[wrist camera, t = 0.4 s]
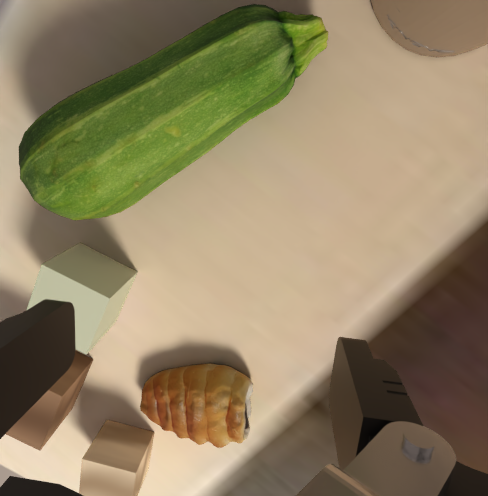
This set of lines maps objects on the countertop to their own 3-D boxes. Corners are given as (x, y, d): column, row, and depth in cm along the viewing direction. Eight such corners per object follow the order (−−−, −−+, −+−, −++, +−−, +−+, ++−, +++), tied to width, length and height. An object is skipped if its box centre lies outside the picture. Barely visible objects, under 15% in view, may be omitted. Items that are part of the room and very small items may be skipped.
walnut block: (30, 327, 34) (-12, 360, 29) (94, 358, 34) (62, 396, 29) (13, 378, 36) (-30, 417, 31) (73, 407, 36) (40, 450, 31)
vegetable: (-30, 173, 21) (320, -47, 16) (14, 117, 26) (287, -60, 22) (72, 258, 25) (367, 105, 21) (91, 196, 31) (329, 64, 26)
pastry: (150, 419, 36) (133, 453, 32) (143, 354, 33) (125, 382, 30) (254, 427, 34) (249, 463, 31) (253, 360, 32) (248, 390, 29)
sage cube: (80, 242, 31) (41, 264, 26) (138, 271, 31) (109, 298, 26) (61, 293, 32) (22, 322, 28) (116, 320, 33) (86, 354, 28)
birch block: (107, 419, 36) (82, 459, 32) (154, 431, 36) (135, 473, 31) (103, 456, 37) (78, 499, 33) (148, 468, 37) (130, 513, 33)
